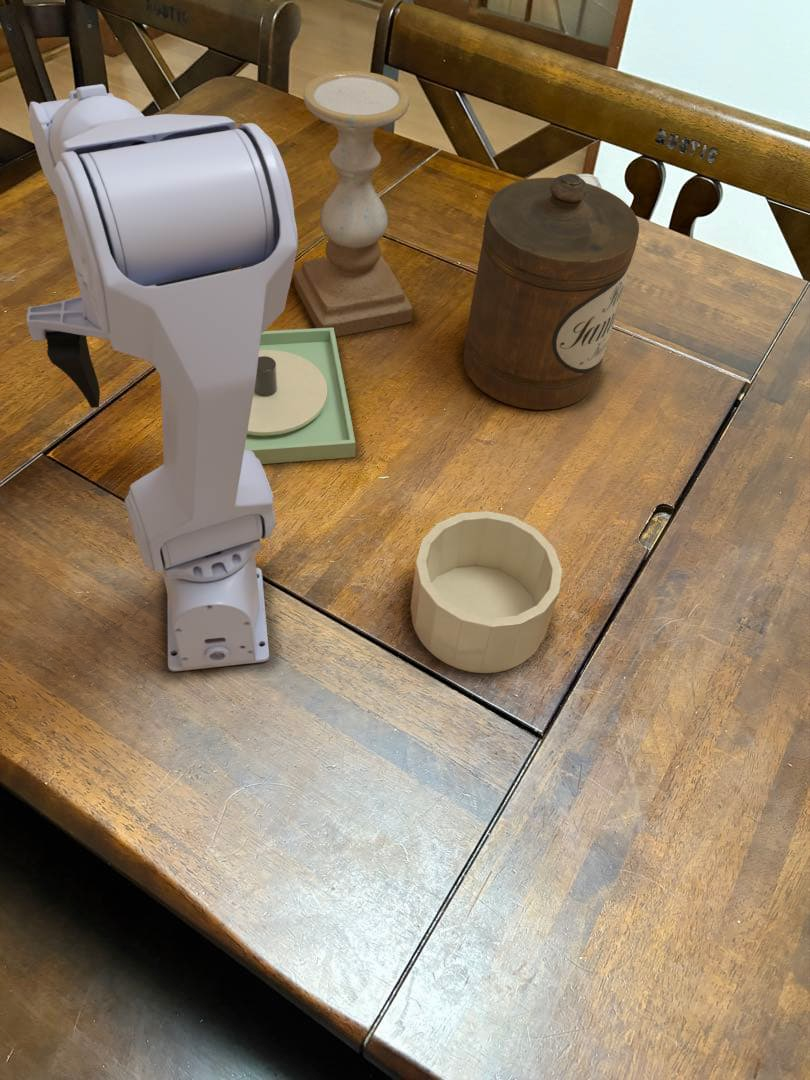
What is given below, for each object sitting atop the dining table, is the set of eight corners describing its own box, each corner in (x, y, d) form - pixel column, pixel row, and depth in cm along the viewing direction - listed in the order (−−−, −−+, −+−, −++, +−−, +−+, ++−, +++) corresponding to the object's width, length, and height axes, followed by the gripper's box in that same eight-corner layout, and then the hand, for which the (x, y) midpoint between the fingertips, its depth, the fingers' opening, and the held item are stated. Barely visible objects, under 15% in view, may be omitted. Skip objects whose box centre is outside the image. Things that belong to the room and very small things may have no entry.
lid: (334, 435, 91) (334, 402, 87) (205, 444, 89) (200, 410, 85) (320, 354, 99) (320, 321, 95) (201, 361, 97) (197, 327, 93)
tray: (355, 457, 90) (355, 442, 88) (188, 469, 87) (186, 454, 86) (333, 342, 101) (333, 327, 99) (185, 350, 98) (183, 335, 97)
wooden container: (582, 426, 95) (637, 237, 78) (446, 389, 97) (470, 197, 80) (608, 343, 104) (663, 158, 87) (483, 311, 106) (513, 124, 89)
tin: (561, 665, 76) (579, 617, 70) (424, 680, 74) (431, 633, 69) (526, 556, 83) (540, 506, 78) (401, 568, 81) (406, 517, 76)
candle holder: (413, 321, 104) (431, 112, 86) (322, 339, 101) (320, 126, 83) (379, 268, 110) (389, 62, 92) (292, 283, 107) (284, 74, 89)
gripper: (208, 228, 73) (223, 362, 83) (17, 234, 70) (57, 372, 81) (211, 280, 68) (227, 415, 79) (7, 289, 66) (51, 426, 77)
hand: (141, 397), depth 80 cm, fingers open, 7 cm apart
